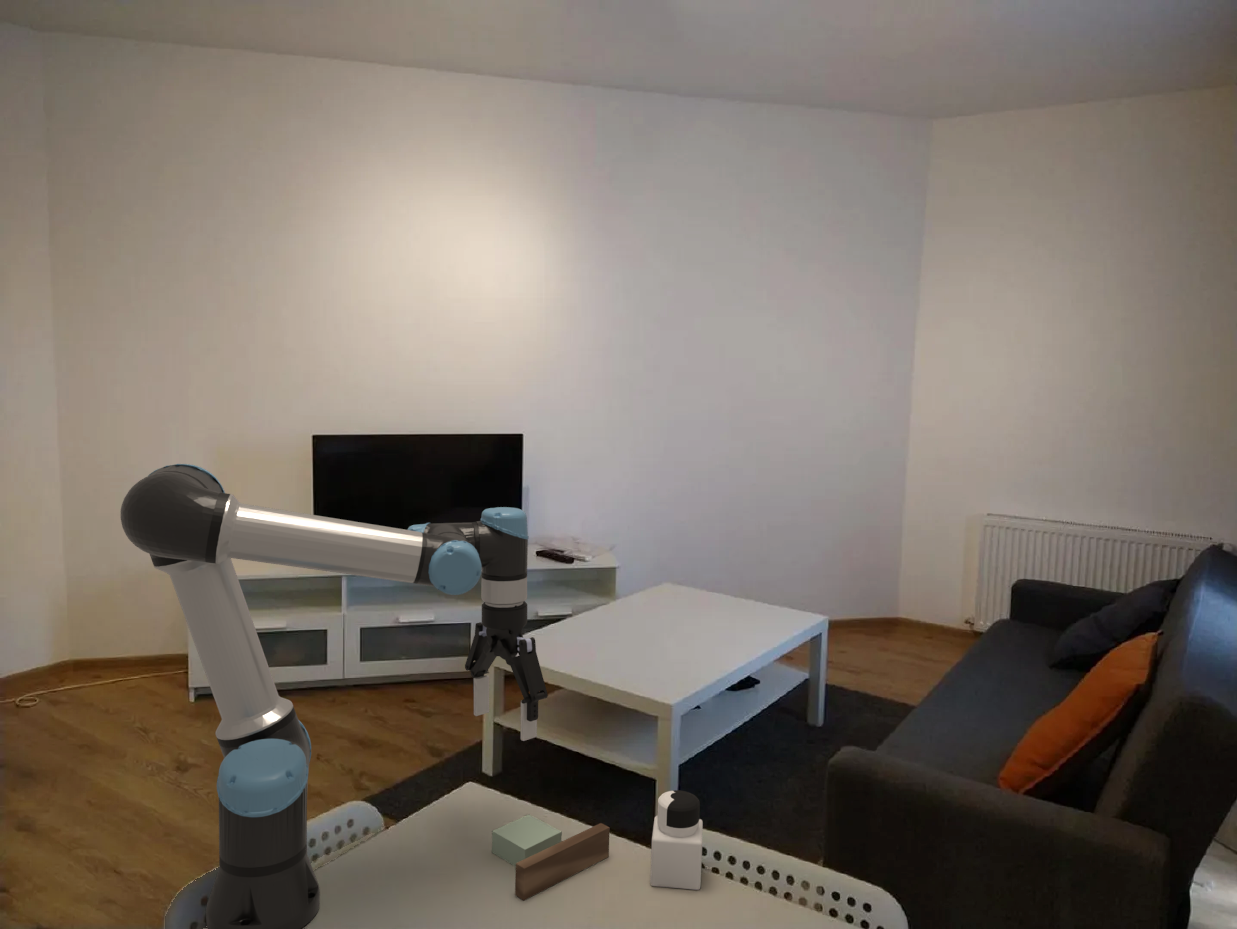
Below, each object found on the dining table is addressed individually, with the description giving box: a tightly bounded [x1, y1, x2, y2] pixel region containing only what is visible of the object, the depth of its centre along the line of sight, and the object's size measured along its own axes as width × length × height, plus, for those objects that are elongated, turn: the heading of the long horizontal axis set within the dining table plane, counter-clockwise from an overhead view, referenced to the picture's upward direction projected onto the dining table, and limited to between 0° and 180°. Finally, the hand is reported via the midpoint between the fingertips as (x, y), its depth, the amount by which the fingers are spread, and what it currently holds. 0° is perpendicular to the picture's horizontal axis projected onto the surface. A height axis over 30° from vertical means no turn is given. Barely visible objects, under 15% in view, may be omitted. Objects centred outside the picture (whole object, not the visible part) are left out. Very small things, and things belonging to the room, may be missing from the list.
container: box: [649, 789, 704, 891], centre depth 142 cm, size 8×8×13 cm
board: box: [514, 822, 611, 901], centre depth 141 cm, size 2×18×5 cm, turn 136°
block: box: [491, 813, 563, 868], centre depth 147 cm, size 8×8×4 cm
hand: (504, 725), depth 151 cm, fingers open, 13 cm apart
